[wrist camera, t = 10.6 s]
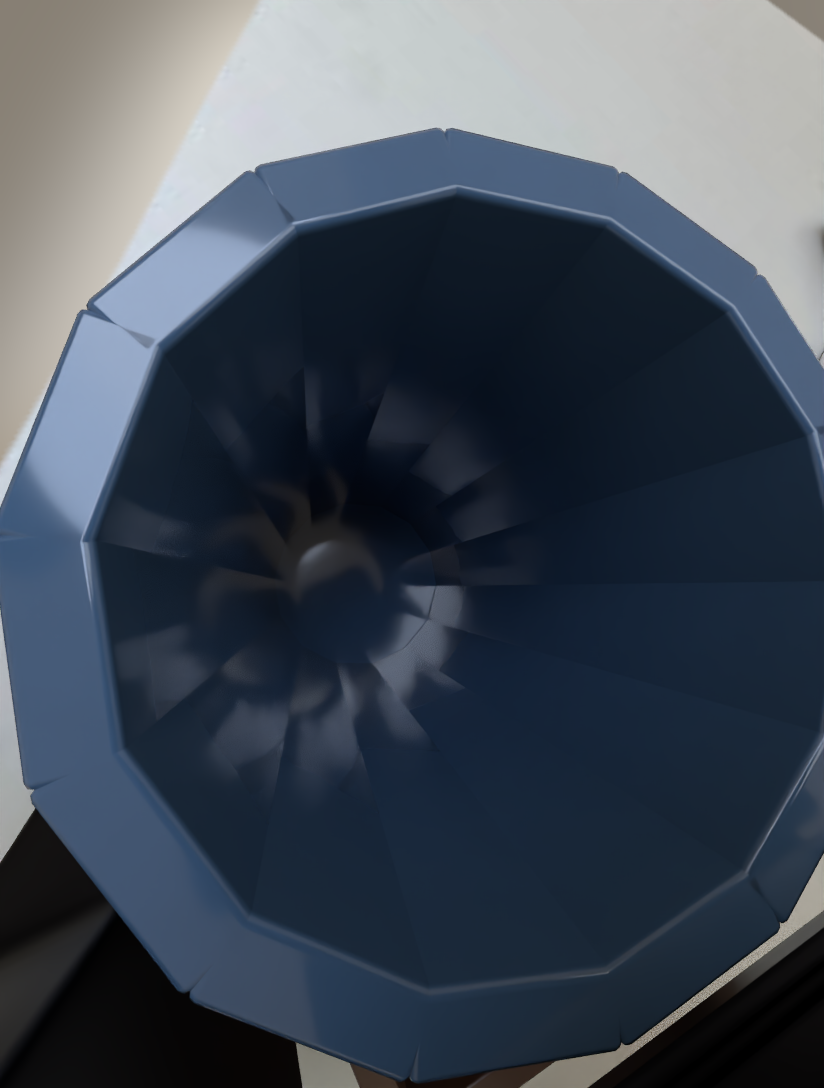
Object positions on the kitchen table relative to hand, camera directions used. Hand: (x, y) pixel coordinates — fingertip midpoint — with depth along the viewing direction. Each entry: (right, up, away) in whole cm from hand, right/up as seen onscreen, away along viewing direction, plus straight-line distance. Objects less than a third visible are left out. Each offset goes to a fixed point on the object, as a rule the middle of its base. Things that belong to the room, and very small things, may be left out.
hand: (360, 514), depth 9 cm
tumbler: (-1, -2, +6) cm, 7 cm away
